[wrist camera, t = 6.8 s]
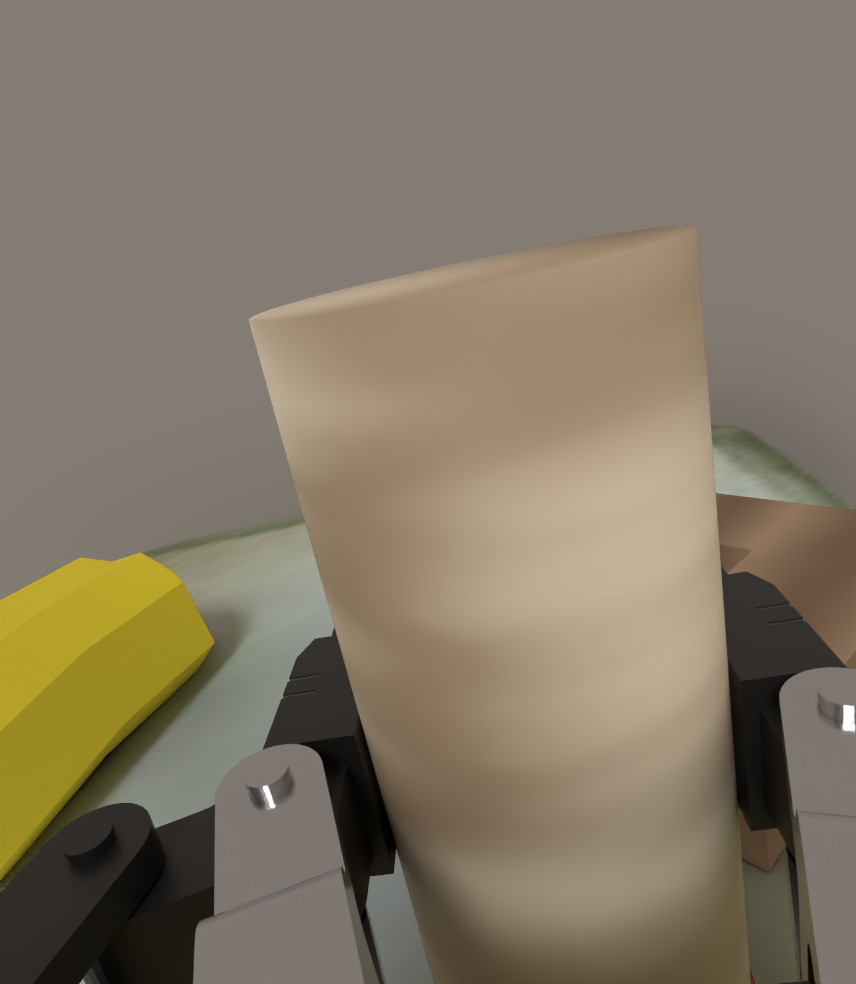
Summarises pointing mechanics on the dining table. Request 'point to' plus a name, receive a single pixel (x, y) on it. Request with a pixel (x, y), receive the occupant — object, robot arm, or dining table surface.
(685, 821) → the peg
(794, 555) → the board
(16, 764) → the low-poly banana
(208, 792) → the dining table surface
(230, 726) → the dining table surface
